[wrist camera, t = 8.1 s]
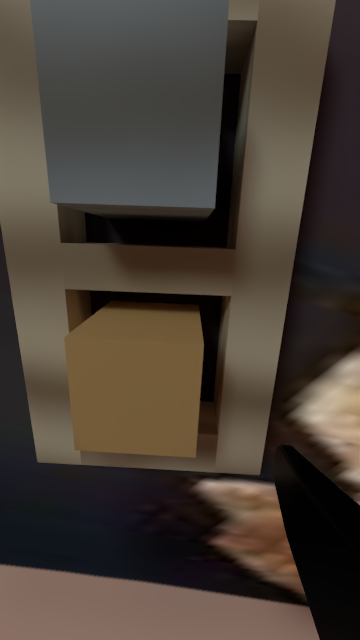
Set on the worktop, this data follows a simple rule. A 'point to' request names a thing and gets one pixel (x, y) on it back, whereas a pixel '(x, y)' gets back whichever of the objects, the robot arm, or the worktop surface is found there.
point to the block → (136, 379)
